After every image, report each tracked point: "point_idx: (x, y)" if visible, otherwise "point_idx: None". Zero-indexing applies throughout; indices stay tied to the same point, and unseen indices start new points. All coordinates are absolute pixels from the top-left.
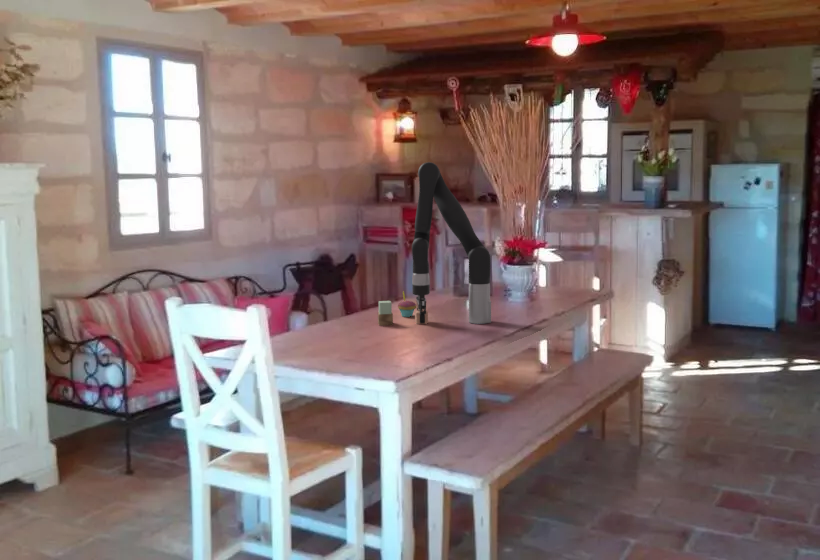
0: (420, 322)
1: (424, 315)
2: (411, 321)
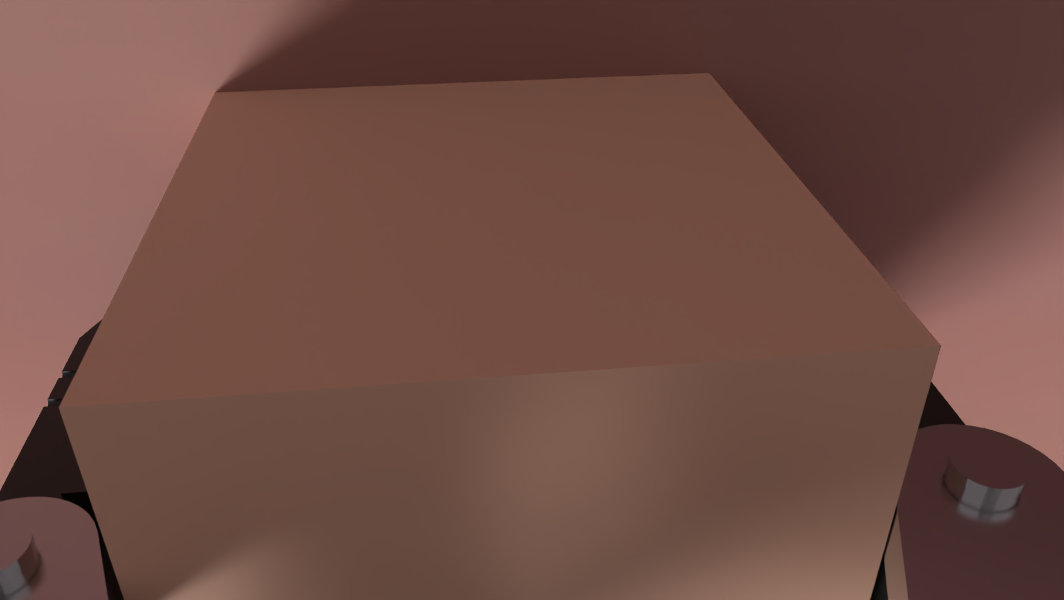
0: None
1: None
2: None
